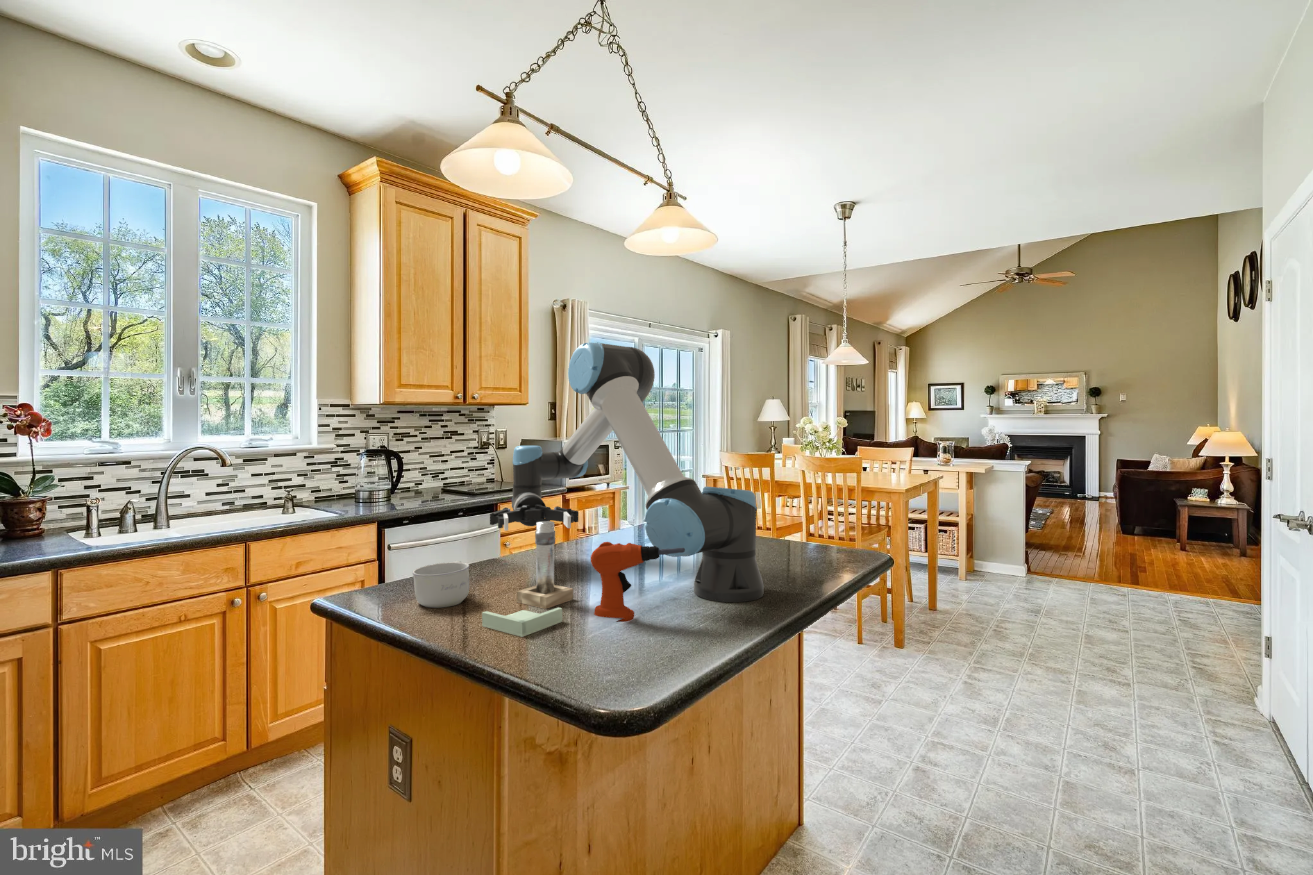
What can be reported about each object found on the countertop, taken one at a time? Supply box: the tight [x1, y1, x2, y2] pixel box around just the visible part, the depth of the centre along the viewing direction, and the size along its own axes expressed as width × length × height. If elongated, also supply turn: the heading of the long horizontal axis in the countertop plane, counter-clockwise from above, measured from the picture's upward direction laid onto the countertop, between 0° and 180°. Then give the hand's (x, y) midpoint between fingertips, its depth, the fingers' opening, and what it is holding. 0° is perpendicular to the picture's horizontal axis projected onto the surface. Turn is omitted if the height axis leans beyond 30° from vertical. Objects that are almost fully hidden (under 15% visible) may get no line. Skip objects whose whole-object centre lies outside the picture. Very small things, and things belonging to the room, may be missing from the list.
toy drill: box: [590, 541, 685, 623], centre depth 117 cm, size 5×19×15 cm, turn 82°
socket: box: [516, 584, 574, 610], centre depth 127 cm, size 8×8×3 cm
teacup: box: [412, 560, 470, 609], centre depth 127 cm, size 14×11×8 cm
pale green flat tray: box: [481, 607, 563, 638], centre depth 112 cm, size 10×10×3 cm
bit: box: [534, 520, 556, 594], centre depth 127 cm, size 4×4×16 cm
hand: (538, 523), depth 136 cm, fingers open, 13 cm apart
